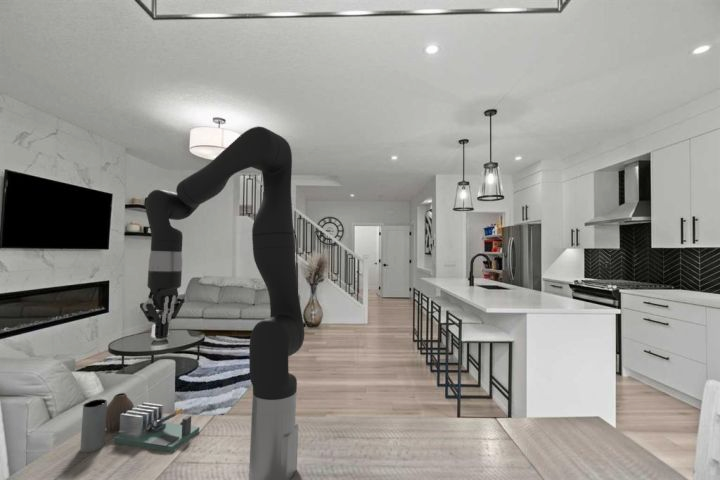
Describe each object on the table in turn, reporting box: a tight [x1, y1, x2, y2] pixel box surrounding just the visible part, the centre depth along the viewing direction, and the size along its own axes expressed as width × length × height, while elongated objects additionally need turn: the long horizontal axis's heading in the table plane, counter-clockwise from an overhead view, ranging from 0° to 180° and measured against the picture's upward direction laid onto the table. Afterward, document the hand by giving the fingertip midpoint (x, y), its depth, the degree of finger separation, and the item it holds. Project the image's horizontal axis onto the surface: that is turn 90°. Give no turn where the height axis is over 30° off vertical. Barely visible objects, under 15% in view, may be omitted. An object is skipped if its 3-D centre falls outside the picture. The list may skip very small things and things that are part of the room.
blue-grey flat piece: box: [152, 408, 183, 428], centre depth 90 cm, size 7×3×1 cm, turn 79°
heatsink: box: [117, 402, 166, 439], centre depth 90 cm, size 8×8×5 cm
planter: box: [80, 398, 108, 453], centre depth 84 cm, size 4×4×10 cm
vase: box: [105, 392, 135, 433], centre depth 93 cm, size 7×7×9 cm
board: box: [113, 421, 201, 453], centre depth 89 cm, size 16×10×1 cm, turn 79°
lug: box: [179, 415, 192, 436], centre depth 89 cm, size 2×2×4 cm
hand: (161, 337), depth 89 cm, fingers closed
